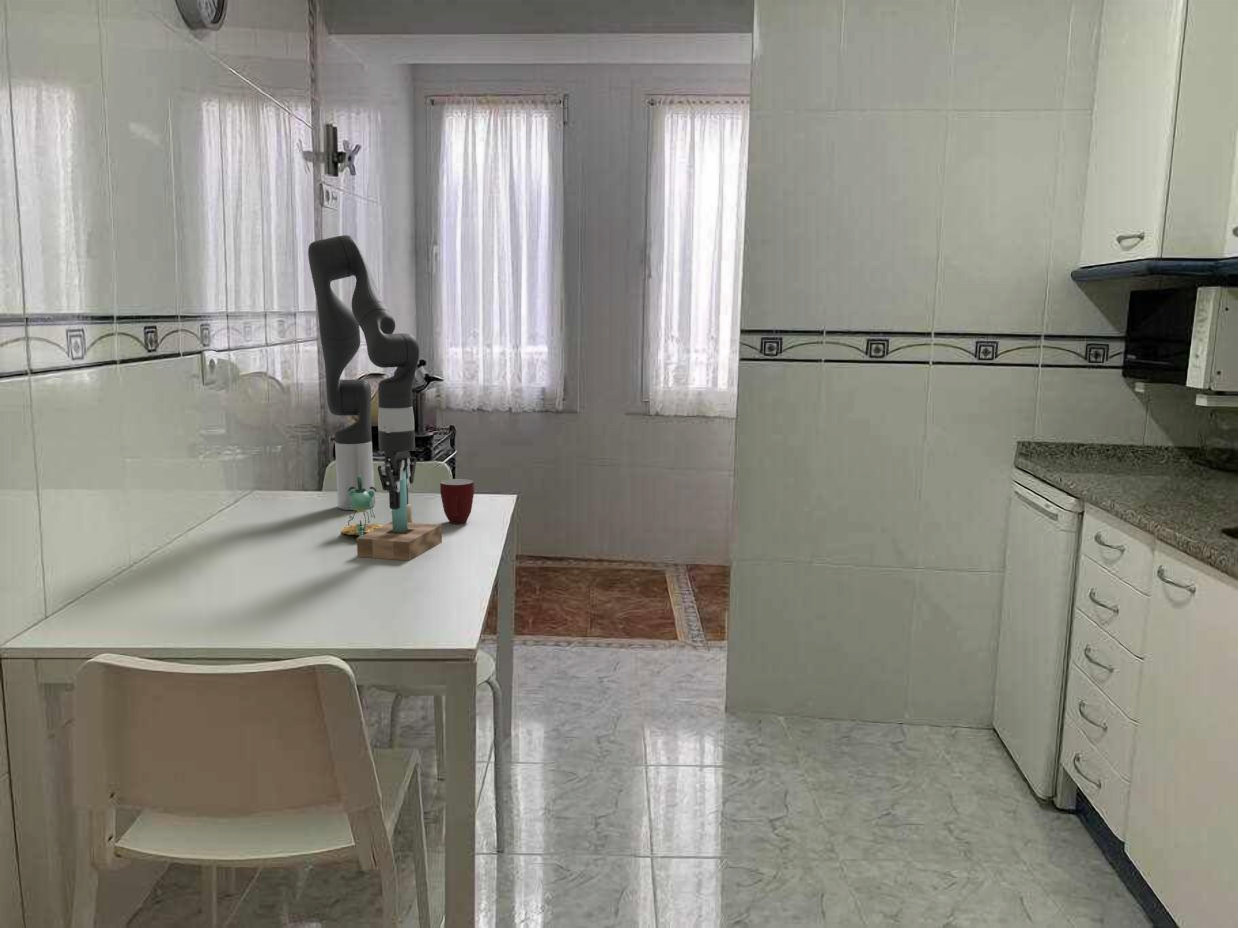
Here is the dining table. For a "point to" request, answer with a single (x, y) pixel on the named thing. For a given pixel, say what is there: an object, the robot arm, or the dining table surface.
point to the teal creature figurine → (360, 509)
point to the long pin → (401, 509)
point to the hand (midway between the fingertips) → (399, 506)
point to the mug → (457, 499)
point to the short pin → (409, 513)
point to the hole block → (399, 541)
